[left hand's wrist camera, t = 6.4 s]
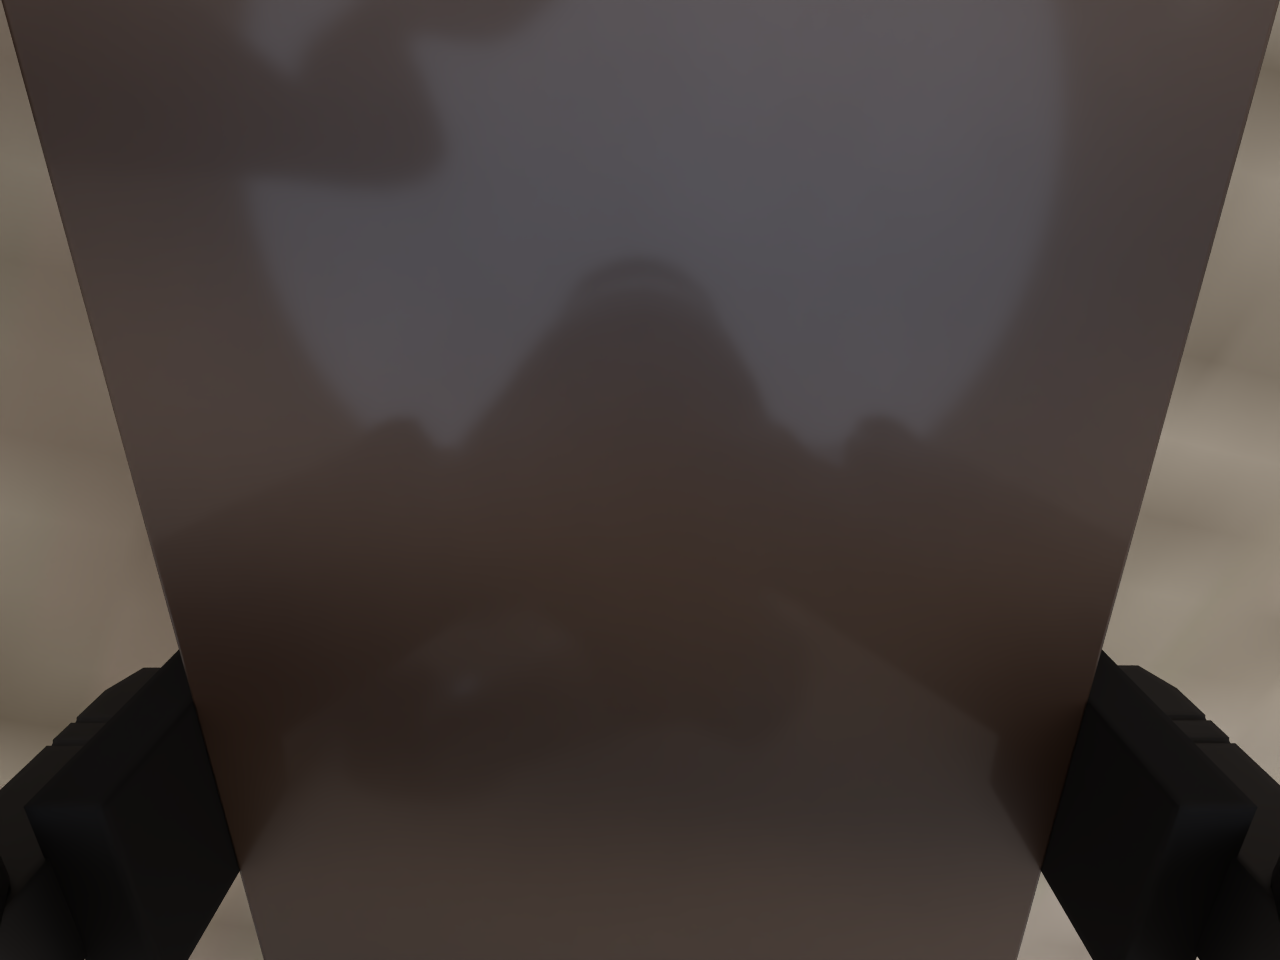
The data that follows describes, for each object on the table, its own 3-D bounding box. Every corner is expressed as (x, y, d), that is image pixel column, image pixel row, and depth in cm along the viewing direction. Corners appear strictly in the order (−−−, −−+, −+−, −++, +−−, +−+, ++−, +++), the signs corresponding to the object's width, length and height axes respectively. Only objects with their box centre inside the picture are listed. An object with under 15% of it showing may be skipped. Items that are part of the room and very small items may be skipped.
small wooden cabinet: (360, -394, 14) (-733, -2661, 3) (919, -394, 14) (2017, -2664, 3) (458, 567, 21) (266, 974, 10) (821, 567, 21) (1014, 974, 10)
